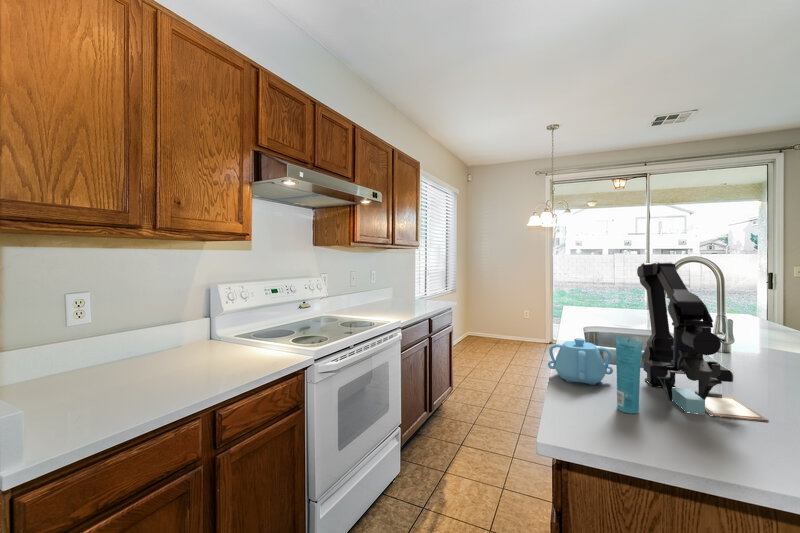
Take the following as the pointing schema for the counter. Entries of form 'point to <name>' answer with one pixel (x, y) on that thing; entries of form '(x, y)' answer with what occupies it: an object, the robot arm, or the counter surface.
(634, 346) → the tube
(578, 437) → the counter surface
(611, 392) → the counter surface
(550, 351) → the decorative pot
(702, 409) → the light blue block
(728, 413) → the clipboard
